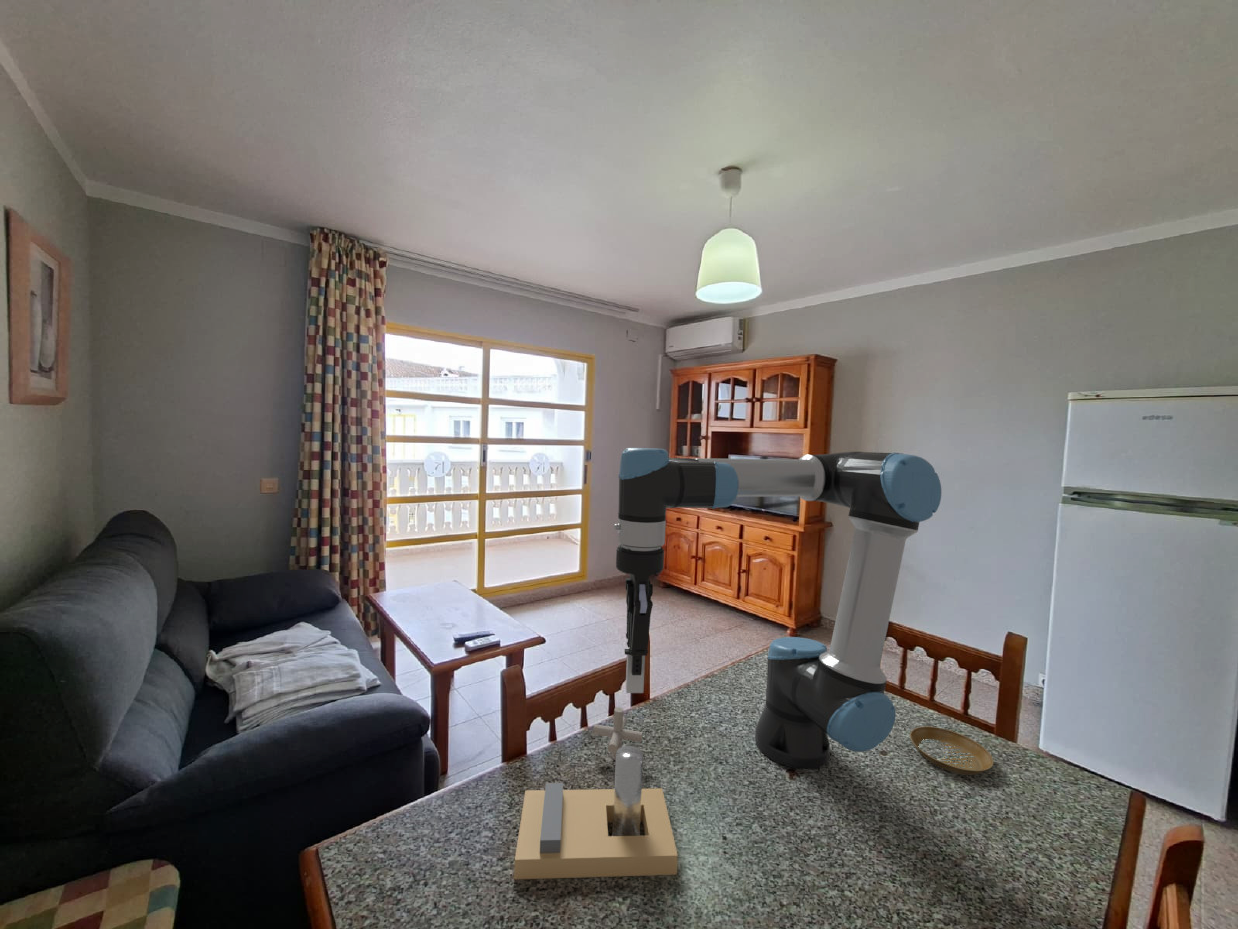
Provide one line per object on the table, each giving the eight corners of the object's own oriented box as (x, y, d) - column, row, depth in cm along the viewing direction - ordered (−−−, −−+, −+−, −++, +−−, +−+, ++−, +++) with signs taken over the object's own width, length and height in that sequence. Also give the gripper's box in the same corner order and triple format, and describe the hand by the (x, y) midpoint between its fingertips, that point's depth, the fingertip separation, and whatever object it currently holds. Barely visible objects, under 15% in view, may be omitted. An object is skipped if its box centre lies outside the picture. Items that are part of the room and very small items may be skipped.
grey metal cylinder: (637, 826, 82) (641, 745, 81) (640, 848, 78) (644, 763, 77) (611, 827, 82) (615, 746, 81) (613, 849, 77) (617, 763, 77)
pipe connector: (636, 778, 94) (639, 727, 93) (586, 769, 96) (588, 719, 95) (644, 746, 103) (646, 700, 103) (598, 738, 105) (600, 693, 105)
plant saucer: (1003, 792, 95) (1004, 778, 95) (915, 769, 100) (916, 757, 100) (979, 748, 108) (980, 736, 108) (903, 730, 114) (904, 720, 114)
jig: (661, 804, 87) (662, 777, 87) (676, 874, 73) (678, 842, 73) (524, 807, 85) (525, 779, 85) (514, 879, 71) (515, 846, 71)
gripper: (613, 536, 84) (608, 671, 85) (620, 555, 71) (614, 713, 72) (657, 537, 84) (651, 671, 86) (671, 556, 71) (664, 713, 73)
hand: (634, 690), depth 79 cm, fingers closed
